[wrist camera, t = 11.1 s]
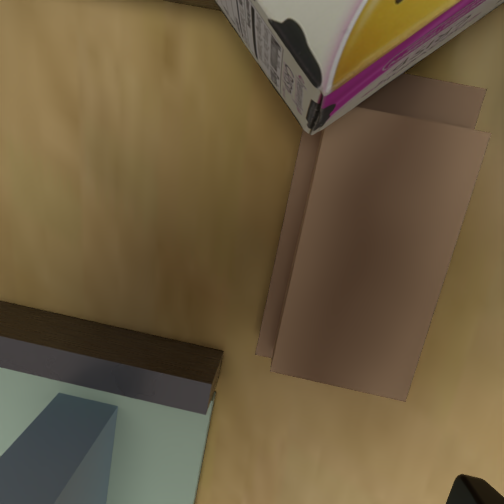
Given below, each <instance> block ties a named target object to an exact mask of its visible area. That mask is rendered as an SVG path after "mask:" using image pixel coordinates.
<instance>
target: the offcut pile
mask: <svg viewBox="0 0 504 504" xmlns="http://www.w3.org/2000/svg"><path fill="white" fill-rule="evenodd" d="M486 90H487V89H484V88H479V87H473V86H468V85H463V84H457V83H452V82H447V81H442V80H436V79H431V78H426V77H420V76H415V75H410V74H405V73H403V74H401V75H400V76H398V77H397V78H396V79H394V80H393V81H391V82H390V83H388V84H387V85H386V86H384V87H383V88H381V89H380V90H379V91H377V92H376V93H374V94H373V95H372V96H370V97H369V98H367V99H366V100H365V101H363V102H362V103H360V104H359V105H357V106H356V107H355V108H353V109H352V110H350V111H349V112H348V113H346V114H345V115H343V116H342V117H340V118H339V119H337V120H336V121H334V122H333V123H332V124H330V125H329V126H327V127H326V128H324V129H323V130H321V131H319V132H317V133H315V134H314V135H310V134H308V133H307V132H306V131H304V130H303V131H302V136H301V141H300V146H299V150H298V155H297V160H296V164H295V169H294V174H293V179H292V183H291V188H290V193H289V197H288V202H287V207H286V212H285V216H284V221H283V226H282V230H281V235H280V240H279V245H278V249H277V254H276V259H275V263H274V268H273V273H272V278H271V282H270V287H269V292H268V296H267V301H266V306H265V311H264V315H263V320H262V325H261V329H260V334H259V339H258V343H257V348H256V353H255V355H260V356H264V357H269V358H272V362H271V370H270V371H271V372H276V373H280V374H285V375H289V376H293V377H298V378H302V379H307V380H311V381H316V382H320V383H324V384H329V385H333V386H338V387H342V388H347V389H351V390H355V391H360V392H364V393H369V394H373V395H378V396H382V397H386V398H391V399H395V400H400V401H404V402H406V399H407V395H408V392H409V389H410V386H411V383H412V380H413V377H414V374H415V370H416V367H417V364H418V361H419V358H420V355H421V352H422V349H423V345H424V342H425V339H426V336H427V333H428V330H429V327H430V324H431V320H432V317H433V314H434V311H435V308H436V305H437V302H438V299H439V295H440V292H441V289H442V286H443V283H444V280H445V277H446V274H447V271H448V267H449V264H450V261H451V258H452V255H453V252H454V249H455V246H456V242H457V239H458V236H459V233H460V230H461V227H462V224H463V221H464V217H465V214H466V211H467V208H468V205H469V202H470V199H471V196H472V192H473V189H474V186H475V183H476V180H477V177H478V174H479V171H480V167H481V164H482V161H483V158H484V155H485V152H486V149H487V146H488V142H489V139H490V136H491V133H489V132H484V131H478V130H474V129H475V126H476V123H477V119H478V116H479V113H480V110H481V106H482V103H483V100H484V97H485V94H486Z"/></svg>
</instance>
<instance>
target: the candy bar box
mask: <svg viewBox="0 0 504 504" xmlns="http://www.w3.org/2000/svg"><path fill="white" fill-rule="evenodd" d="M214 1H215V2H216V4H217V5H218V6H219V8H220V9H221V11H222V12H223V14H224V15H225V16H226V18H227V19H228V21H229V22H230V24H231V25H232V27H233V28H234V30H235V31H236V32H237V34H238V35H239V37H240V38H241V40H242V41H243V43H244V44H245V45H246V47H247V48H248V50H249V51H250V53H251V54H252V55H253V57H254V58H255V60H256V61H257V63H258V65H259V66H260V68H261V70H262V71H263V72H264V74H265V75H266V76H267V78H268V79H269V81H270V83H271V84H272V86H273V87H274V88H275V90H276V91H277V93H278V94H279V95H280V97H281V98H282V99H283V100H284V102H285V103H286V104H287V106H288V107H289V109H290V111H291V112H292V113H293V115H294V116H295V118H296V119H297V121H298V122H299V124H300V125H301V127H302V128H303V130H304V131H306V132H307V133H308V134H310V135H314V134H315V133H317V132H319V131H321V130H323V129H324V128H326V127H327V126H329V125H330V124H332V123H333V122H334V121H336V120H337V119H339V118H340V117H342V116H343V115H345V114H346V113H348V112H349V111H350V110H352V109H353V108H355V107H356V106H357V105H359V104H360V103H362V102H363V101H365V100H366V99H367V98H369V97H370V96H372V95H373V94H374V93H376V92H377V91H379V90H380V89H381V88H383V87H384V86H386V85H387V84H388V83H390V82H391V81H393V80H394V79H396V78H397V77H398V76H400V75H401V74H403V73H404V72H405V71H407V70H408V69H410V68H411V67H412V66H414V65H415V64H416V63H418V62H419V61H421V60H422V59H424V58H425V57H426V56H428V55H429V54H431V53H432V52H434V51H435V50H436V49H438V48H439V47H441V46H442V45H444V44H445V43H446V42H448V41H449V40H451V39H452V38H454V37H455V36H456V35H458V34H459V33H461V32H462V31H463V30H465V29H466V28H468V27H469V26H471V25H472V24H474V23H475V22H476V21H478V20H479V19H481V18H482V17H484V16H485V15H487V14H488V13H489V12H491V11H492V10H494V9H495V8H497V7H498V6H499V5H501V4H502V3H504V0H214Z"/></svg>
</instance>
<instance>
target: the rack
mask: <svg viewBox="0 0 504 504" xmlns="http://www.w3.org/2000/svg"><path fill="white" fill-rule="evenodd" d="M165 1H171V2H176V3H182V4H187V5H192V6H198V7H203V8H208V9H214V10H219V11H221V9H220V8H219V6H218V5H217V4H216V2H215V1H214V0H165ZM223 352H224V351H220V350H216V349H211V348H207V347H203V346H198V345H194V344H189V343H185V342H180V341H176V340H171V339H167V338H162V337H158V336H154V335H149V334H145V333H140V332H136V331H131V330H127V329H122V328H118V327H114V326H109V325H105V324H100V323H96V322H91V321H87V320H82V319H78V318H73V317H69V316H65V315H60V314H56V313H51V312H47V311H42V310H38V309H33V308H29V307H24V306H20V305H16V304H11V303H7V302H2V301H0V367H1V368H5V369H10V370H14V371H18V372H22V373H27V374H31V375H35V376H40V377H44V378H48V379H53V380H57V381H61V382H66V383H70V384H74V385H78V386H83V387H87V388H91V389H96V390H100V391H104V392H109V393H113V394H117V395H122V396H126V397H130V398H134V399H139V400H143V401H147V402H152V403H156V404H160V405H165V406H169V407H173V408H178V409H182V410H186V411H190V412H195V413H199V414H203V415H206V414H207V411H208V408H209V405H210V402H211V399H212V396H213V393H214V390H215V387H216V384H217V381H218V378H219V373H220V367H221V362H222V357H223Z"/></svg>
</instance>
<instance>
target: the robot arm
mask: <svg viewBox="0 0 504 504" xmlns="http://www.w3.org/2000/svg"><path fill="white" fill-rule="evenodd" d="M446 504H504V497H503V496H502V495H501V494H500V493H498V492H497V491H496V490H495V489H494V488H493V487H492V486H491V485H489V484H488V483H487V482H486V481H485V480H483V479H481V478H477V477H473V476H468V475H464V474H461V475H458V476H457V477H456V479H455V481H454V483H453V486H452V489H451V491H450V494H449V497H448V499H447V502H446Z"/></svg>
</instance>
